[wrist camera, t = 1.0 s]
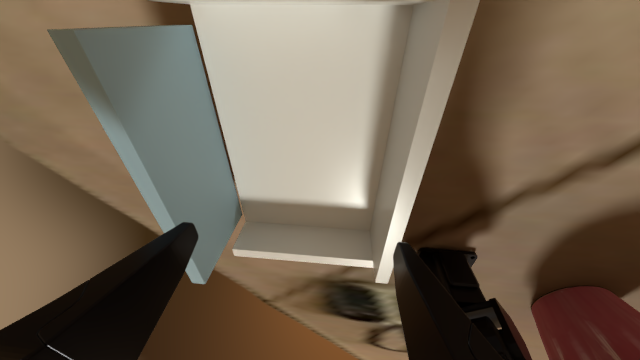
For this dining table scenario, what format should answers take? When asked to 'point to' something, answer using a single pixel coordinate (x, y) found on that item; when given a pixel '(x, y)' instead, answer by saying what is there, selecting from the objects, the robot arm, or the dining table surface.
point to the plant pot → (587, 325)
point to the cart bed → (329, 117)
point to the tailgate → (160, 126)
